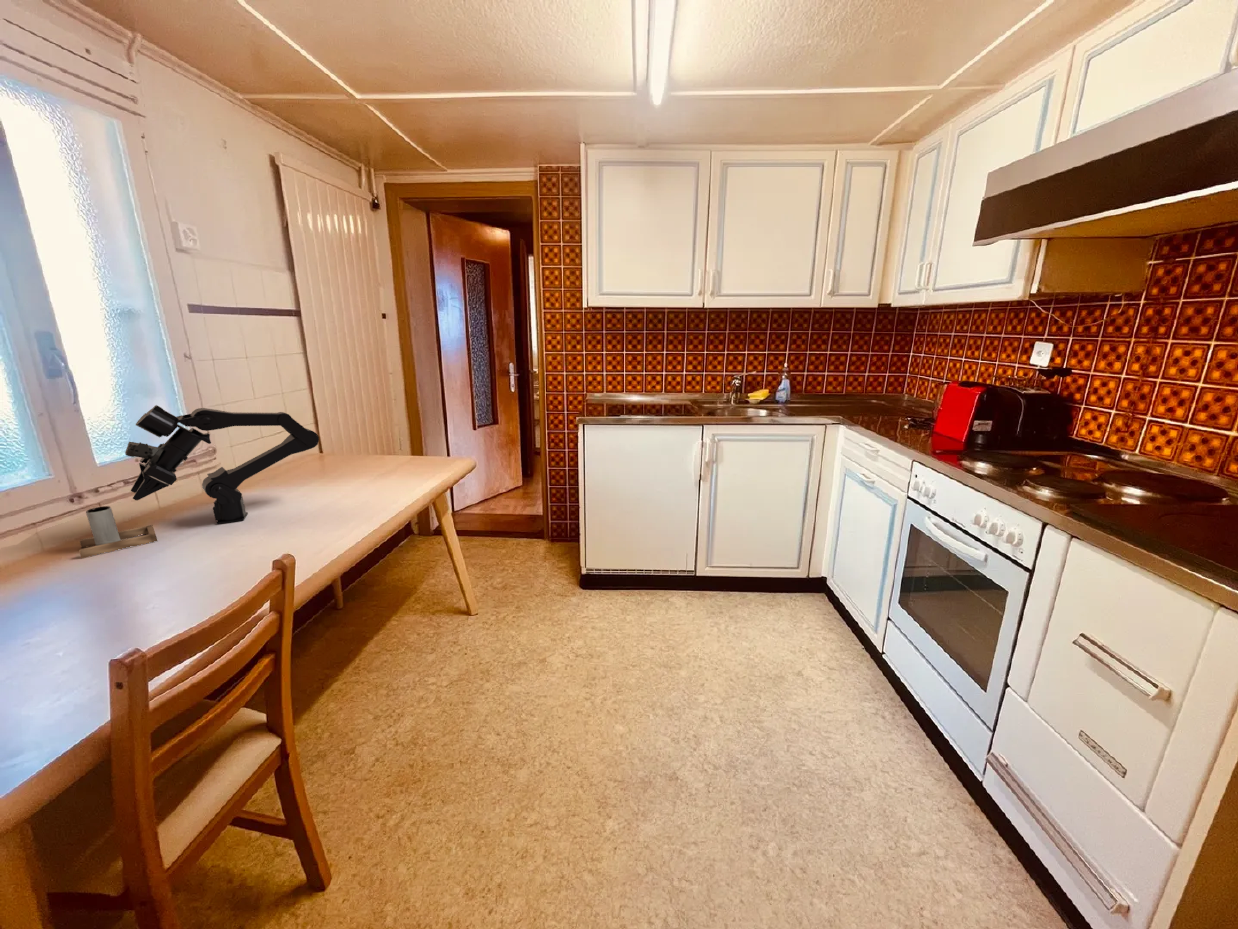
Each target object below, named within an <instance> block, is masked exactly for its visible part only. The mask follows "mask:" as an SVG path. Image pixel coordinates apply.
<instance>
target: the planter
mask: <svg viewBox="0 0 1238 929" xmlns="http://www.w3.org/2000/svg"><path fill="white" fill-rule="evenodd" d="M85 514H86V516H87V521H88V524H89V527H90V530H91V533H92V537H94V540H95V544H96V545H95V546H98V545H103V544H107V543H112V542H116V541H121V540H120V536H119V533H118V532H119V530H118V527H117V524H116V519H115V517H114V512H113V509H112V507H111V506H109V505H105V506H98V507H97V506H96V507H93V508H89V509H87V510H85Z"/></svg>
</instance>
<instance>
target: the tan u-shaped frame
mask: <svg viewBox="0 0 1238 929" xmlns="http://www.w3.org/2000/svg"><path fill="white" fill-rule="evenodd" d="M118 533H119V536H120V540H121V541H116V542H112V543H107V544H103V545H98V546H96V544H95V540H94V537H93V536H91V537H87V538H82V539H79V543H80V547H81V548H80V549H78V551H79V555H80V557H81V559H85V558H90V557H93V556H92V555H95V556H98V555H97V554H99V555H101V554H100V553H104V552H108V553H112V552H116V551H115V550H117V551H119V550H118V549H121V550H123V549H122V548H126V547H130V546H135V547H138V546H137V545H139V546H142V545H141V544H143V545H147V544H146V543H148V544H150V543H149V542H152V543H155V542H154V541H157V542H158V538H157V534H156V532H155V528H154V526H153V524H150V525H144V526H140V527H135V528H130V529H125V530H120V531H118ZM141 534H146V535H141ZM138 535H141V536H138ZM134 536H137V537H134ZM130 537H132V538H130ZM126 538H127V539H126ZM122 539H123V540H122ZM93 545H95V546H93ZM86 546H90V547H86ZM82 547H86V548H82ZM130 548H131V547H130ZM126 549H127V548H126ZM111 551H112V552H111ZM104 554H105V553H104ZM89 556H90V557H89Z"/></svg>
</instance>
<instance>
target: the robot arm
mask: <svg viewBox="0 0 1238 929" xmlns="http://www.w3.org/2000/svg"><path fill="white" fill-rule="evenodd" d="M179 423H180V424H182V425H183V426H182V425H180V424H179ZM135 426H137V427H138V428H140V429H143V430H144V431H146V432H148V433H150V434H152V435H154V436H156V437H158V438H162V437H167V438H168V437H169V436H170V437H169V438H168V439H167V440H166V441H165V442H163V443H160V444H159V445H158V446H153V445H150V444H148V443H142V442H135V441H128V444H127V446H126V450H125V452H124V454H125V456H127V457H131V458H134V457H136V458H140V460H139V463H138V465H139V468H140V473H139V474H138V476H137V478H136V480H135V481H134V484H133V485H132V487H131V489H130V492H131V493H133V494H134V495H133V496H132V499H133V500H134V501H140V500H141V499H144V498H146V497H147V496H150V495H151V494H154V493H156V492H158V491H160V490H162V489H165V488H168V487H170V486H172V485H173V484H174V483H175V482H176V481H177V480H178V479H177V475H176V472H177V468H178V467H179V466H180V465H181V464H182V462H183V461H186V460H188V459H189V456H190V454H191V453H192V452H193V451H194V449H196V447H197V446H198V445H199V444H200V443H201V442H202V441H203V442H205V443H206V444H207V445H208V444H209V445H211V444H212V440H211V434H210V433H209V431H215V430H222V429H226V428H232V427H257V426H258V427H261V426H262V427H265V426H266V427H271V426H272V427H273V426H275V427H276V426H277V427H279V426H280V427H281V428H282V429H283V430H285V432H287V433H288V434H289V435H288V436H287V437H286V438H285V439H284V440H283V441H282V442H281V443H279V444H277V445H275V446H273V447H271V448H270V449H268V450H265V451H264V452H262V453H261V454H259V455H256V456H255V457H252V458H251V459H249V460H247V461H245V462H244V463H242V464H240V465H238V466H236V467H234V468H230V469H227V470H226V469H225V467H223V466H220V467H219V468H218V469H216V470H215V471H213V472H211V473H210V472H209V473H207V476H206V477H205V478H204V479H203V481H202V483H201V486H202V490H203V491H204V492H205V494H206V495H207V496H208V497H209V498H211V499H215V500H214V502H213V505H214V506H213V507H212V511H213V516H214V520H215V521H216V522H215V523H216V524H217V525H222V524H228V523H234V522H241V521H242V522H243V521H244V520H245V519H246V517H247V516H248V515H249V513H248V512H246V507H245V501H244V498H243V493H241V491H239V489H238V487H239V486H241V484H242V483H243V482H244V481H246V480H248V479H249V478H251V477H253V476H255V475H257V474H259V473H260V472H262V471H264V470H265V469H267V468H269V467H272V466H273V465H275V464H276V463H278V462H281V461H282V460H284V459H285V458H287V457H289V456H291V455H293V454H299V453H303V452H307V451H308V450H311V449H314V448H315V447H317V446H318V445H319V443H320V442H319V441H320V437H319V435H318V433H316V432H315V431H313V430H311V429H309V428H306V427H304V426H303V425H301V424H300V423H299V422H298V421H297V420H295V419H294V418H293V417H292V416H291V415H290V414H289V413H286V412H284V411H279V412H237V411H236V412H235V411H234V412H231V411H225V410H219V409H213V408H205V407H200V408H199V407H198V408H196V409H194V410H193V411H192V412H190V413H187V414H183V415H178V416H175V415H174V414H172V413H171V412H169V411H166V409H164V408H162V407H161V406H159V405H157V404H156V405H154V406H153V407H152V408H151V409H150V410H148V411H147V412H146V413H143V415H142V416H141V417H139V419H138V420H137V421H136V423H135ZM184 426H185V427H184ZM186 427H189V428H190V429H188V428H186ZM191 427H192V428H191ZM177 428H178V429H177ZM196 428H197V429H198V430H197V429H196ZM176 429H177V430H176ZM175 430H176V431H175ZM174 431H175V432H174ZM201 431H205V432H206V433H203V432H201ZM172 433H173V434H172ZM171 434H172V435H171Z"/></svg>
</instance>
